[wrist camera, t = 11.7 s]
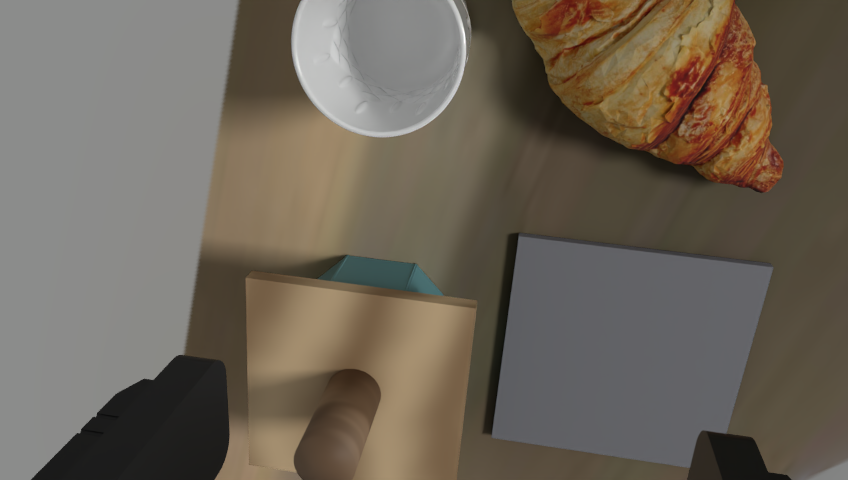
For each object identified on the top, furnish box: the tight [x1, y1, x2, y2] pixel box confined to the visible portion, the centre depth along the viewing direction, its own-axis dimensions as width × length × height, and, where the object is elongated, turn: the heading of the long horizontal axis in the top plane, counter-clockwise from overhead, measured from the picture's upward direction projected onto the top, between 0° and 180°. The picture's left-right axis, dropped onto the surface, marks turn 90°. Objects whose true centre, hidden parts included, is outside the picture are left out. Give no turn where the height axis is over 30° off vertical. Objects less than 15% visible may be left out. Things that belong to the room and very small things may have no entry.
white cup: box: [291, 0, 472, 137], centre depth 36 cm, size 8×8×10 cm
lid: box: [246, 271, 477, 480], centre depth 40 cm, size 13×13×8 cm
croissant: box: [512, 0, 783, 193], centre depth 37 cm, size 21×10×8 cm, turn 48°
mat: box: [492, 233, 773, 468], centre depth 46 cm, size 15×15×1 cm
